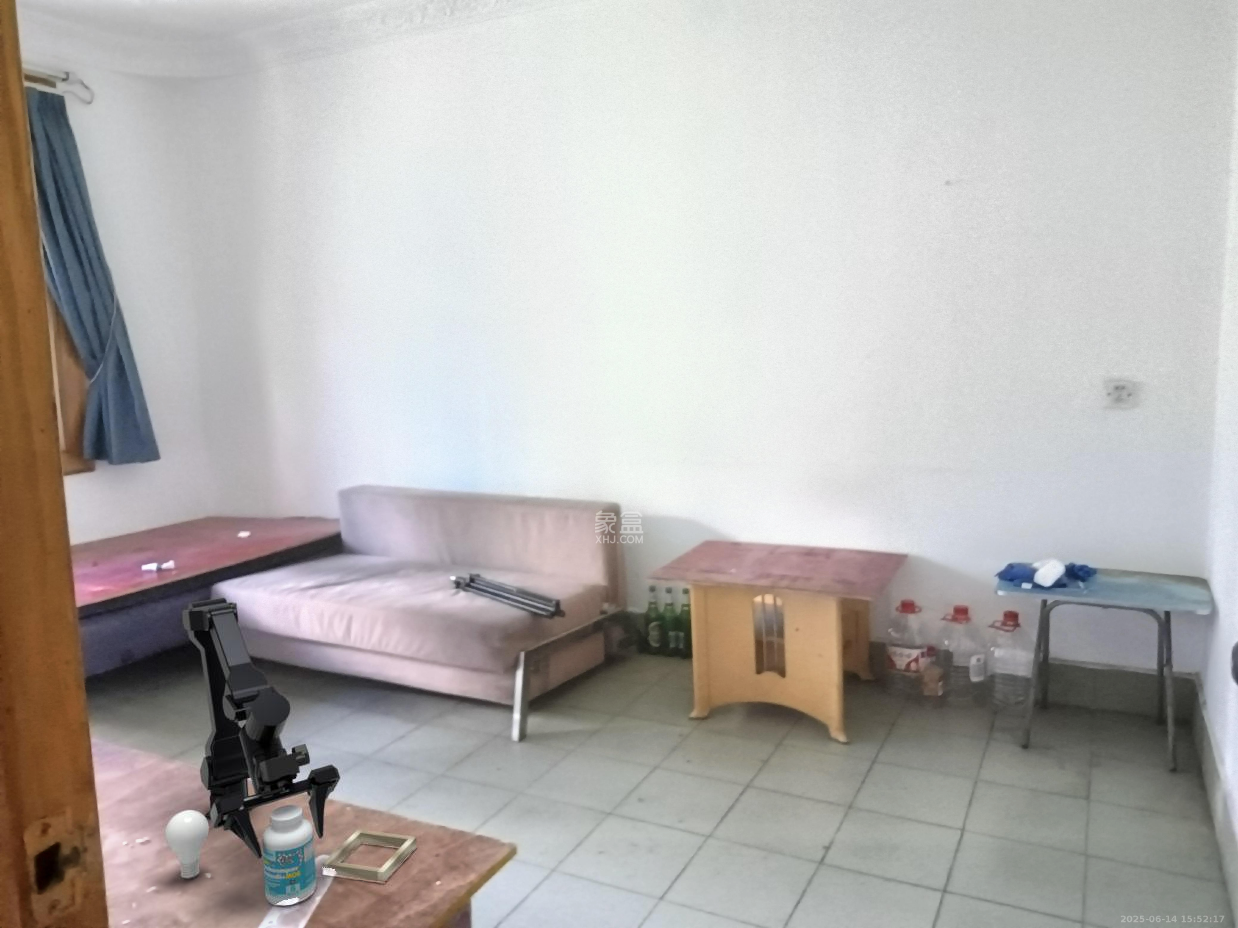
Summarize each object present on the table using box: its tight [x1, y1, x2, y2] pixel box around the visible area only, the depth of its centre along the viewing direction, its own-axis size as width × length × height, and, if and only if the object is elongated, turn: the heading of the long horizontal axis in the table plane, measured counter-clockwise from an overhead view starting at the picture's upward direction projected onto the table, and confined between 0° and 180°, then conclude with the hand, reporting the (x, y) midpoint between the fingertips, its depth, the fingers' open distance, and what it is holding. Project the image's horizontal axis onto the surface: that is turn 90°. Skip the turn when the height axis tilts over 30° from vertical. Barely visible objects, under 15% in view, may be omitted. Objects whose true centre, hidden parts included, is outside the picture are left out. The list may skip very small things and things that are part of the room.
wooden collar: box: [321, 828, 418, 882], centre depth 152 cm, size 11×11×2 cm
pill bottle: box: [261, 804, 317, 906], centre depth 142 cm, size 8×7×14 cm
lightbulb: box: [164, 809, 210, 879], centre depth 147 cm, size 6×6×11 cm
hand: (291, 847), depth 140 cm, fingers open, 9 cm apart
